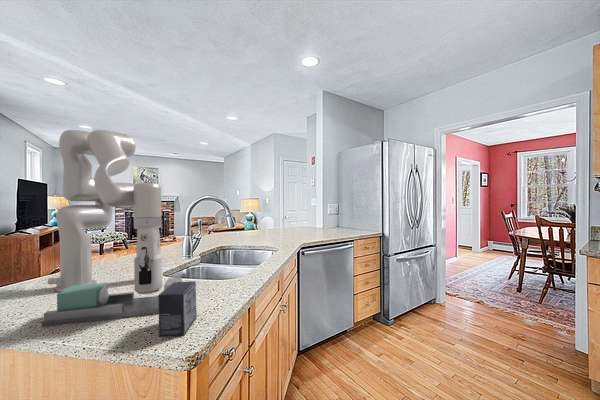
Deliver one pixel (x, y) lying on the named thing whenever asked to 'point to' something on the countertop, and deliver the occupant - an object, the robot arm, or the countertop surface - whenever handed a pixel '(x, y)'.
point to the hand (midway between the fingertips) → (148, 280)
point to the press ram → (82, 296)
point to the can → (155, 273)
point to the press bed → (128, 311)
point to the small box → (177, 309)
